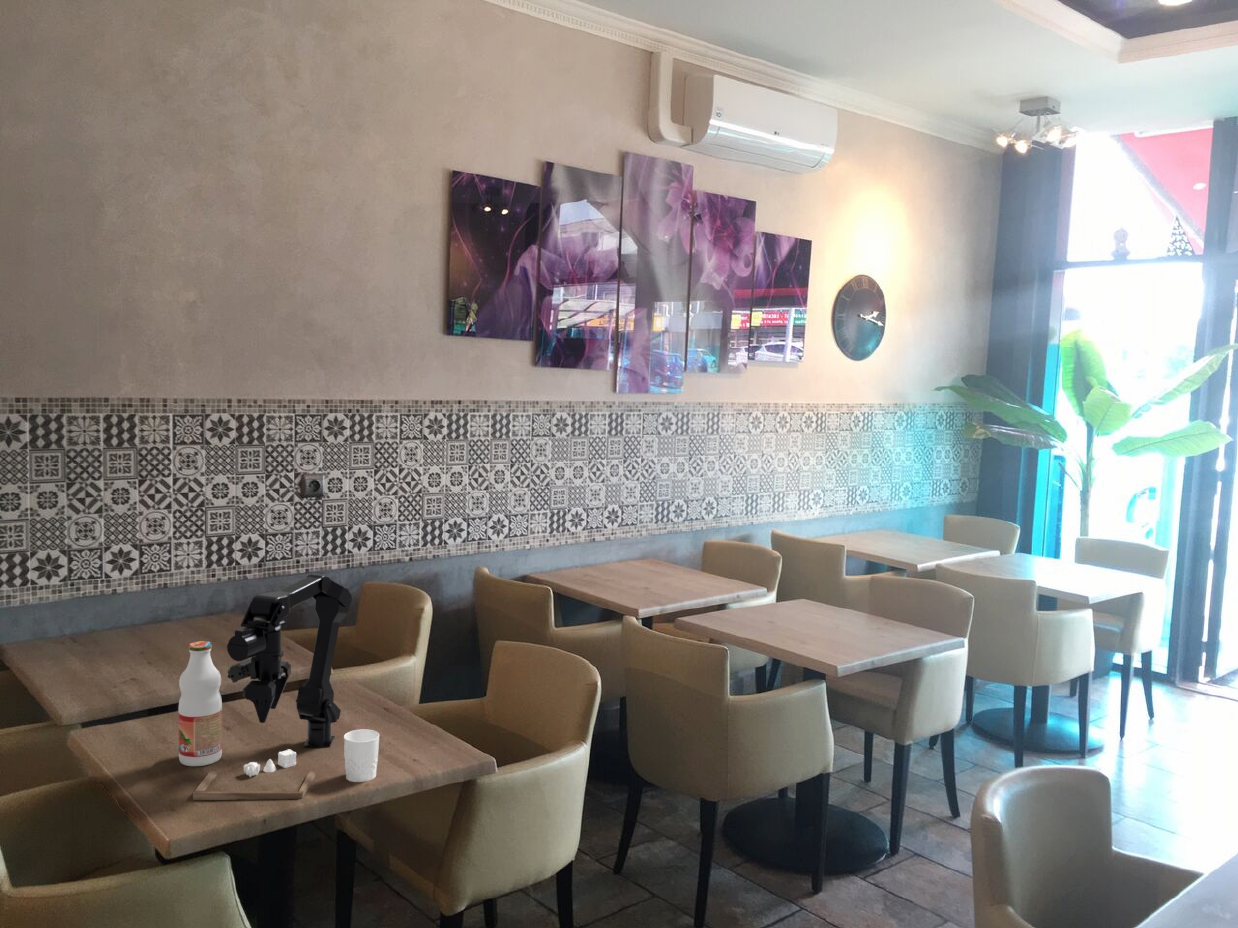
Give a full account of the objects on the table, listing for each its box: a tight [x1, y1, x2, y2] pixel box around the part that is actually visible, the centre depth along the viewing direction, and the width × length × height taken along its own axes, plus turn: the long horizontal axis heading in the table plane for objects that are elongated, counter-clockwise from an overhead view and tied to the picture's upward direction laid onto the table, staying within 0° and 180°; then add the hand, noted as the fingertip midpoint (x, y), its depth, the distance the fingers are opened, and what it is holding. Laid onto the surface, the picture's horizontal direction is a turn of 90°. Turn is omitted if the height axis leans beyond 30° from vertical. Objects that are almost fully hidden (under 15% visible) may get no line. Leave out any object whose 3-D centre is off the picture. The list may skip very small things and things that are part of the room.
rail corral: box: [192, 768, 316, 801], centre depth 223 cm, size 13×23×2 cm, turn 95°
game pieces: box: [243, 748, 297, 778], centre depth 232 cm, size 12×3×3 cm, turn 138°
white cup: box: [343, 728, 380, 783], centre depth 230 cm, size 8×8×10 cm
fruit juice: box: [178, 640, 223, 767], centre depth 235 cm, size 9×9×28 cm
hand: (267, 715), depth 231 cm, fingers open, 9 cm apart
